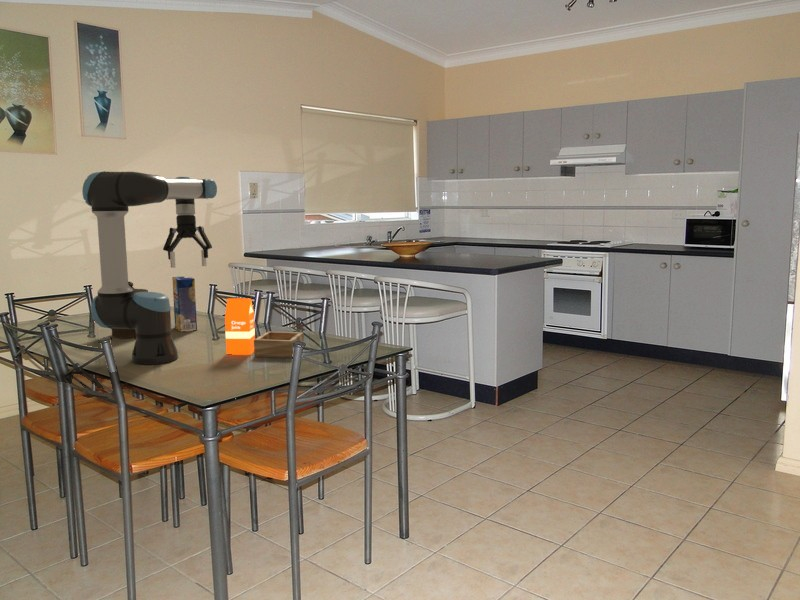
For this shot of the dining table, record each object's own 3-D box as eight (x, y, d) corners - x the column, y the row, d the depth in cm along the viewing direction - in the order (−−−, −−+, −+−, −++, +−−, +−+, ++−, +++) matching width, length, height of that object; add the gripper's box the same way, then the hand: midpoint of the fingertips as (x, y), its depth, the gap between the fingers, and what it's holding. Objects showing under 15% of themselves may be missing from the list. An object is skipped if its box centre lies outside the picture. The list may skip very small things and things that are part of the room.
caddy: (292, 357, 238) (292, 341, 237) (254, 356, 240) (253, 340, 239) (304, 348, 253) (303, 332, 252) (268, 347, 254) (267, 331, 253)
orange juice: (250, 355, 242) (248, 300, 239) (226, 354, 242) (223, 300, 239) (255, 350, 250) (253, 296, 247) (231, 349, 250) (229, 296, 247)
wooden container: (156, 331, 284) (153, 279, 280) (142, 338, 269) (138, 284, 266) (121, 331, 284) (118, 279, 281) (105, 338, 270) (101, 284, 266)
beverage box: (191, 326, 295) (188, 276, 291) (197, 330, 285) (194, 278, 282) (175, 327, 291) (172, 277, 288) (180, 332, 282) (177, 279, 278)
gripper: (218, 214, 279) (221, 265, 280) (161, 217, 283) (164, 268, 283) (210, 212, 272) (213, 265, 273) (152, 216, 275) (155, 268, 276)
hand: (188, 266), depth 278 cm, fingers open, 13 cm apart
